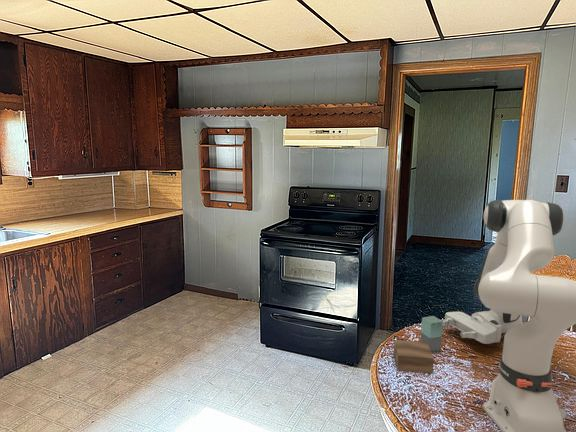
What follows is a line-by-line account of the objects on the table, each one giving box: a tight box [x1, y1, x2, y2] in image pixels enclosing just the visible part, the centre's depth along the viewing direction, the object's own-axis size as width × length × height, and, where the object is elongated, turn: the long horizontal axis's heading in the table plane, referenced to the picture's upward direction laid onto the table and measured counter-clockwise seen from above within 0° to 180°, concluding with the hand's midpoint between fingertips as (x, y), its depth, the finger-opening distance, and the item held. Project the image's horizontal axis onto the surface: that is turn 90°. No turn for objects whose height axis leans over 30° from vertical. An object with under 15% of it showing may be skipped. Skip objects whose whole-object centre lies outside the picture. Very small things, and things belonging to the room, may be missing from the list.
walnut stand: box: [393, 339, 435, 374], centre depth 135 cm, size 11×11×5 cm
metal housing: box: [419, 315, 444, 353], centre depth 144 cm, size 5×5×11 cm
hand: (452, 329), depth 147 cm, fingers open, 8 cm apart
